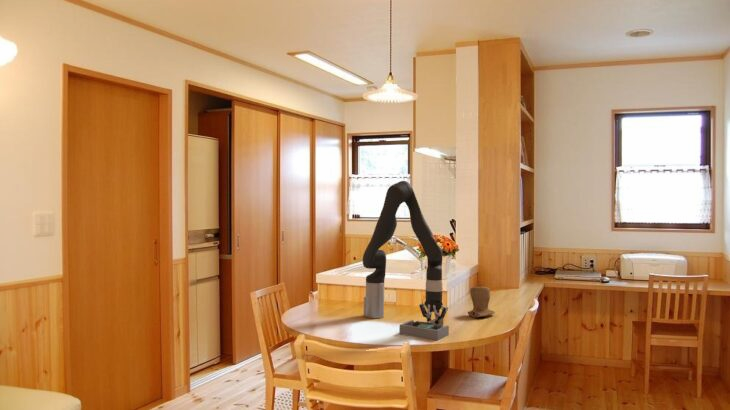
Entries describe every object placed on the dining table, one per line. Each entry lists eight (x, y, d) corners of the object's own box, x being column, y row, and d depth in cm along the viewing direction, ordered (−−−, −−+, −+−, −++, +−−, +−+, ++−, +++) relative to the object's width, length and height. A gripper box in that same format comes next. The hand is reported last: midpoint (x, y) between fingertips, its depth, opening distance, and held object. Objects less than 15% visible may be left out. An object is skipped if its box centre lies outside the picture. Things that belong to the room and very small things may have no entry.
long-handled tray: (412, 331, 254) (412, 322, 254) (428, 324, 268) (428, 316, 268) (437, 335, 248) (437, 326, 248) (452, 328, 262) (452, 319, 262)
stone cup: (478, 311, 301) (479, 283, 300) (498, 315, 292) (498, 286, 292) (461, 315, 290) (461, 286, 290) (480, 319, 282) (481, 289, 281)
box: (399, 333, 251) (399, 324, 251) (411, 328, 260) (411, 320, 260) (437, 340, 241) (437, 330, 241) (448, 334, 250) (448, 325, 250)
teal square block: (416, 335, 250) (416, 326, 250) (422, 332, 255) (422, 323, 255) (428, 337, 247) (428, 328, 247) (434, 334, 252) (434, 325, 252)
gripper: (416, 289, 259) (415, 326, 259) (444, 292, 251) (443, 331, 252) (423, 286, 265) (422, 323, 265) (451, 290, 258) (450, 328, 258)
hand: (433, 327), depth 258 cm, fingers closed on long-handled tray, 3 cm apart
